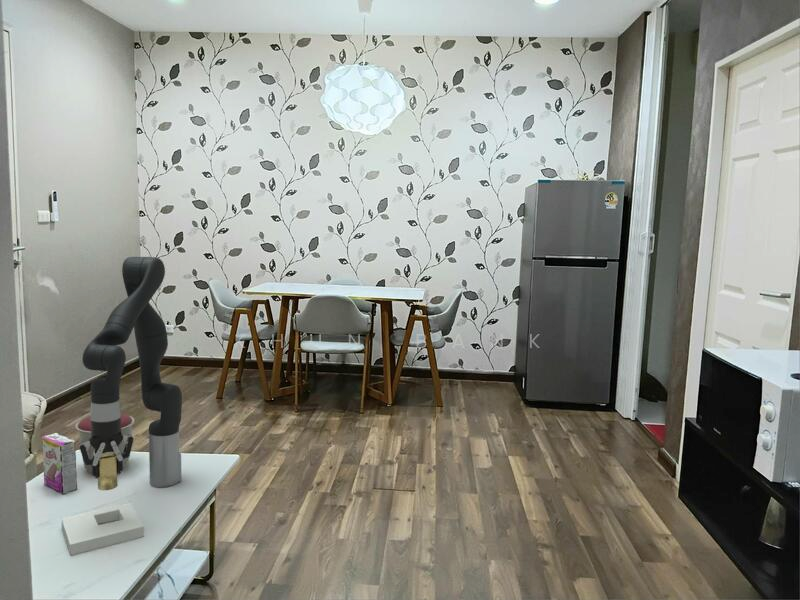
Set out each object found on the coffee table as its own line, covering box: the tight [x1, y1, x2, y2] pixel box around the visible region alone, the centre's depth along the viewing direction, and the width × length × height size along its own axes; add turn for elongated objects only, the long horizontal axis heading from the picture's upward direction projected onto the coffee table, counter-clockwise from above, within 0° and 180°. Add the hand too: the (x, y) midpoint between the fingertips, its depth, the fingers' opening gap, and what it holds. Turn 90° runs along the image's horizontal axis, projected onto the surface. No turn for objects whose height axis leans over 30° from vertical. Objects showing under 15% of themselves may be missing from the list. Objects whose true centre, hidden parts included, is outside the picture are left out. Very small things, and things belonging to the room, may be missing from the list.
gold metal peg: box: [97, 452, 119, 491], centre depth 171 cm, size 5×5×9 cm
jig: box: [61, 502, 145, 556], centre depth 170 cm, size 18×16×3 cm
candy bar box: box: [41, 432, 78, 495], centre depth 194 cm, size 11×5×16 cm, turn 58°
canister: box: [74, 412, 135, 474], centre depth 209 cm, size 18×18×21 cm
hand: (107, 474), depth 171 cm, fingers closed on gold metal peg, 5 cm apart
